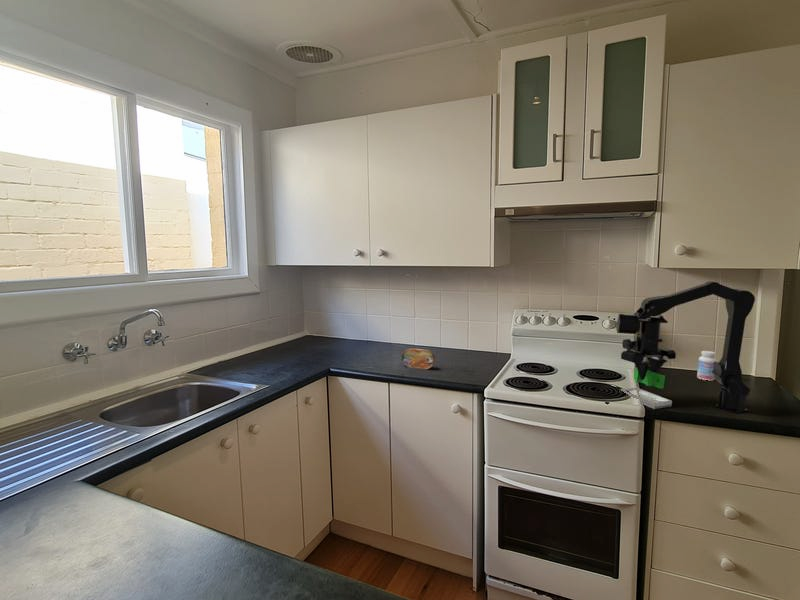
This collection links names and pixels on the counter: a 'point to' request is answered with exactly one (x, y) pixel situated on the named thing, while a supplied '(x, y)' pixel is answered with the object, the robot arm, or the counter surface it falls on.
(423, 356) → the tin
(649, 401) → the grey rectangular tray
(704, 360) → the pill bottle
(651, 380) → the pipe clamp
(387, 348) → the counter surface
